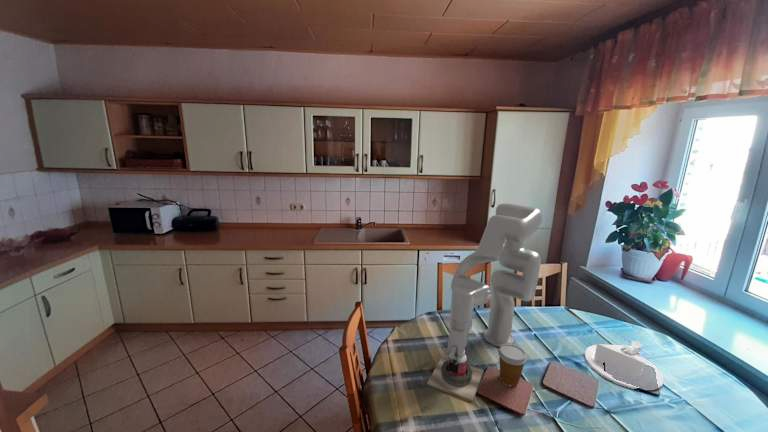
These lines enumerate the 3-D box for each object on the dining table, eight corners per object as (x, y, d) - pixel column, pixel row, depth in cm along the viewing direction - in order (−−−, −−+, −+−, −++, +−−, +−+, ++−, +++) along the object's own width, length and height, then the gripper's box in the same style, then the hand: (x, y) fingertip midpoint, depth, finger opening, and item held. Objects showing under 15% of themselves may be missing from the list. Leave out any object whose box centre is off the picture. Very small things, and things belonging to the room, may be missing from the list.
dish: (651, 357, 131) (657, 333, 128) (673, 401, 109) (681, 373, 106) (581, 340, 141) (585, 317, 138) (589, 378, 119) (594, 351, 116)
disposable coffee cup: (510, 393, 111) (514, 363, 108) (489, 375, 119) (492, 347, 116) (529, 384, 115) (533, 355, 112) (508, 368, 123) (511, 340, 120)
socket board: (442, 358, 128) (442, 349, 127) (483, 372, 120) (484, 363, 119) (427, 384, 114) (427, 374, 113) (472, 402, 107) (473, 392, 106)
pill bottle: (468, 377, 116) (471, 351, 114) (456, 384, 113) (458, 357, 110) (456, 367, 121) (458, 341, 119) (444, 373, 118) (446, 347, 116)
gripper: (457, 307, 121) (454, 347, 125) (442, 330, 106) (439, 374, 110) (477, 312, 117) (473, 353, 121) (464, 337, 103) (460, 383, 107)
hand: (457, 363), depth 116 cm, fingers open, 9 cm apart
